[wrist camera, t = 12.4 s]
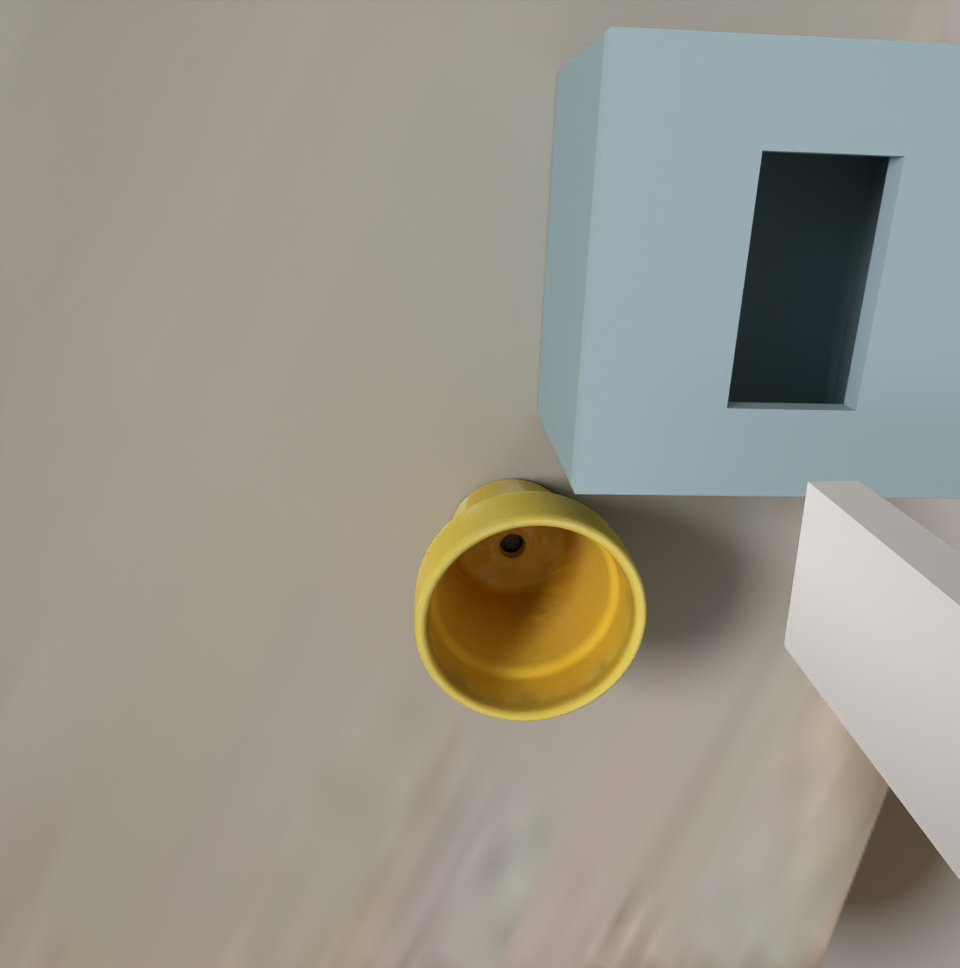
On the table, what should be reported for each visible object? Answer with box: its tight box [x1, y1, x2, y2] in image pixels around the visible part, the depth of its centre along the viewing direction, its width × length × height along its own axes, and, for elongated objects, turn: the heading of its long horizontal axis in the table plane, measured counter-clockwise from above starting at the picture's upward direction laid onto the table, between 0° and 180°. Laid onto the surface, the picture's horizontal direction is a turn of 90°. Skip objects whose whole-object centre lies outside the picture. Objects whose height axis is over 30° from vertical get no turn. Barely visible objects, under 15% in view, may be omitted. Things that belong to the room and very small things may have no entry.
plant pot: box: [414, 479, 647, 721], centre depth 41 cm, size 10×10×10 cm
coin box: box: [537, 27, 960, 499], centre depth 36 cm, size 16×16×12 cm
